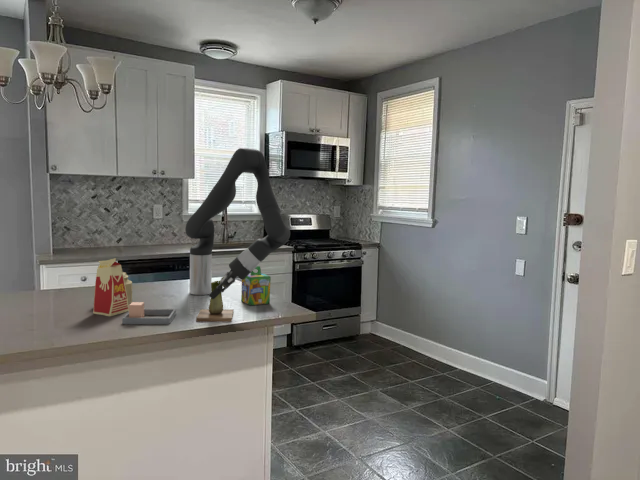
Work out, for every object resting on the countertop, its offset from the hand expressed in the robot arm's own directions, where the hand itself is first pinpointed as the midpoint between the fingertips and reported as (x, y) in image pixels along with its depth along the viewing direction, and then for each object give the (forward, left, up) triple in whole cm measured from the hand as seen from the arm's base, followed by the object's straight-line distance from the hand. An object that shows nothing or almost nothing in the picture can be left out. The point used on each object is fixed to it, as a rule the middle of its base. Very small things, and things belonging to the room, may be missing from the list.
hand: (212, 294), depth 167 cm
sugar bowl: (-20, -39, -8) cm, 44 cm away
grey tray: (+3, -21, -8) cm, 22 cm away
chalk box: (-22, +15, -8) cm, 28 cm away
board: (0, +1, -8) cm, 8 cm away
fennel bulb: (0, +2, -7) cm, 7 cm away
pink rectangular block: (+5, -25, -8) cm, 27 cm away
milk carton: (-6, -37, -8) cm, 38 cm away
